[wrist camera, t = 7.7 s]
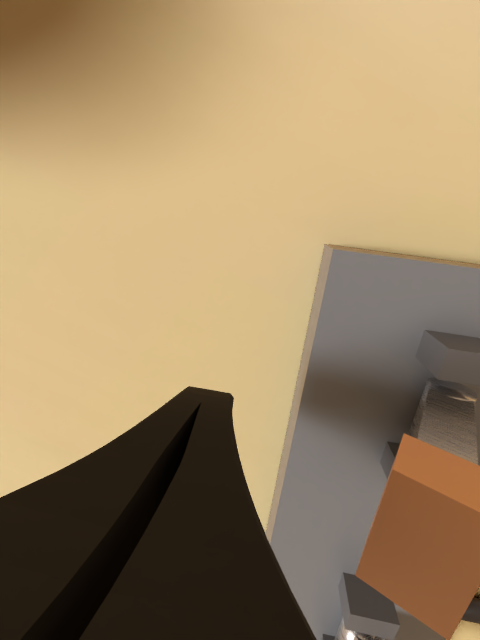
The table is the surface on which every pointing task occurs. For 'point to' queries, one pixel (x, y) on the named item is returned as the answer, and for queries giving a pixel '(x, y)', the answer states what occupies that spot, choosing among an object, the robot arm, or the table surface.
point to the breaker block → (365, 422)
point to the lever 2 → (430, 513)
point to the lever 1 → (353, 634)
